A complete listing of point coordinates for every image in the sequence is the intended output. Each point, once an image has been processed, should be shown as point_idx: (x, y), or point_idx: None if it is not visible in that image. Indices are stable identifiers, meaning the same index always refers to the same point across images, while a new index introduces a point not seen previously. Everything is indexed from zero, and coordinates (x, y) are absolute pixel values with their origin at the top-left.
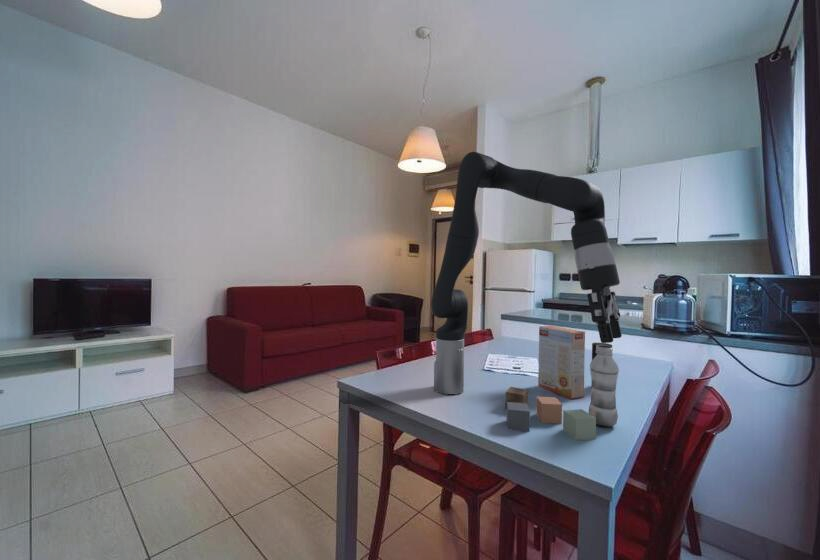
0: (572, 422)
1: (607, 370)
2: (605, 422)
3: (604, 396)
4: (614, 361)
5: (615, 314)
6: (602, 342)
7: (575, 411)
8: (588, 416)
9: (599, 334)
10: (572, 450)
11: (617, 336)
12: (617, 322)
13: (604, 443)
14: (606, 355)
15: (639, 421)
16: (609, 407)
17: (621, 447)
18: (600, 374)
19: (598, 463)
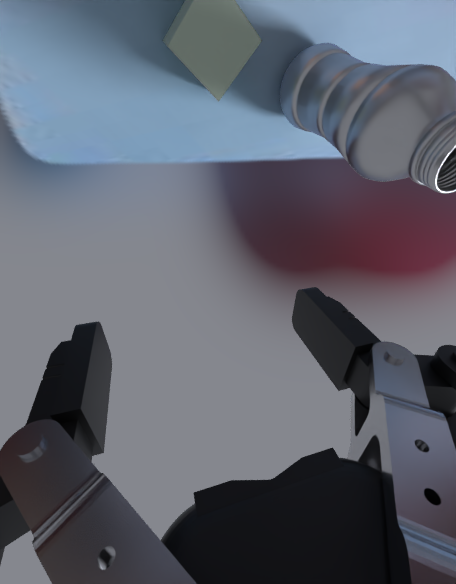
0: (176, 25)
1: (352, 153)
2: (280, 102)
3: (315, 114)
4: (398, 178)
5: (353, 435)
6: (79, 326)
7: (229, 23)
8: (215, 78)
9: (67, 356)
10: (94, 49)
11: (296, 317)
12: (335, 381)
13: (197, 114)
14: (412, 163)
15: None
16: (301, 121)
17: (203, 148)
18: (348, 122)
19: (92, 125)
